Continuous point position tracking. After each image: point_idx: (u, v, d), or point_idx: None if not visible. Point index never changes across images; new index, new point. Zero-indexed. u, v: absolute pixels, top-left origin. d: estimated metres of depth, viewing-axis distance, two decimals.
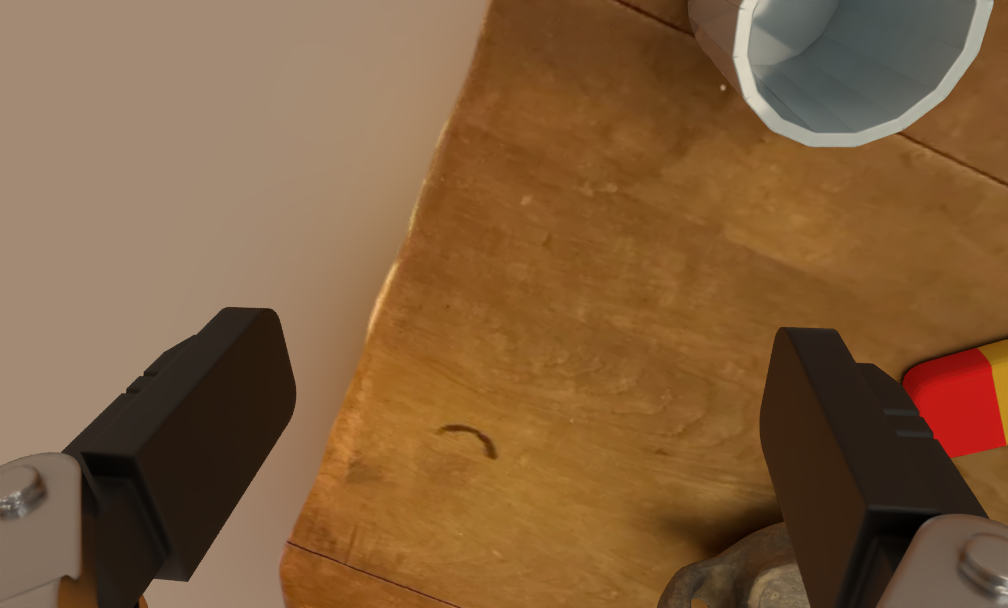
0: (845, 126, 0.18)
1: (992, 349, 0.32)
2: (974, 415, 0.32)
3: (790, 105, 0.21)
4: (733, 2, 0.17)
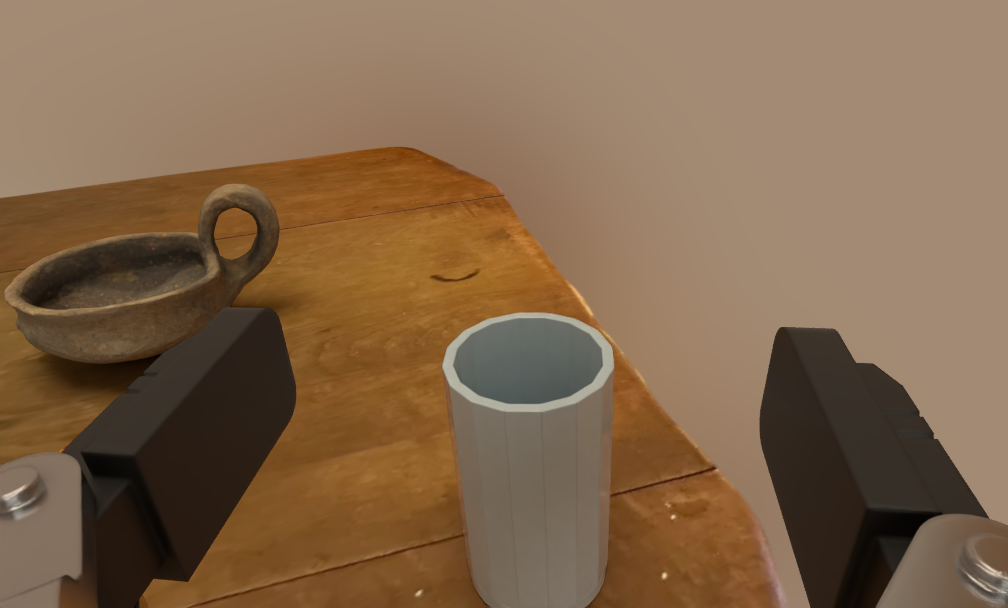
0: (475, 346, 0.25)
1: None
2: None
3: (496, 390, 0.27)
4: None
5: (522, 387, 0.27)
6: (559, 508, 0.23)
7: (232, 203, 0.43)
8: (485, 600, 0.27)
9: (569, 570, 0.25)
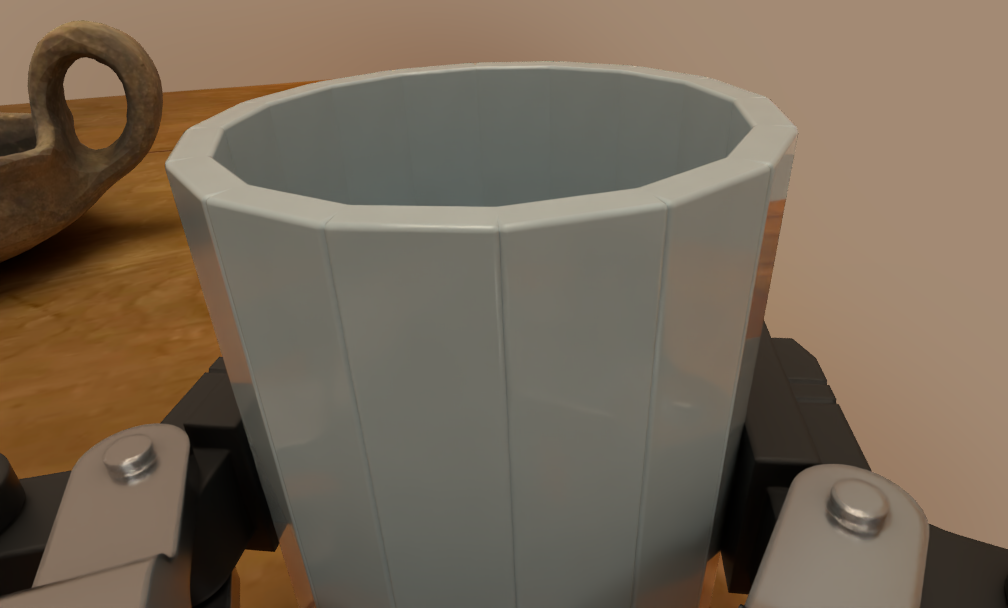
0: (345, 133, 0.09)
1: None
2: None
3: None
4: None
5: None
6: None
7: (77, 45, 0.28)
8: None
9: None
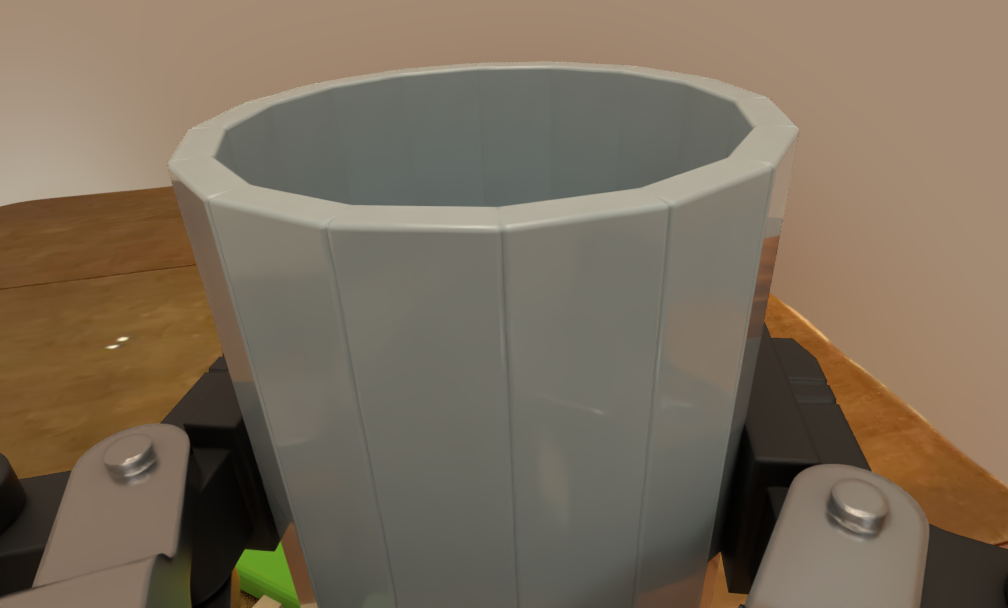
0: (346, 133, 0.09)
1: None
2: None
3: None
4: None
5: None
6: None
7: None
8: None
9: None
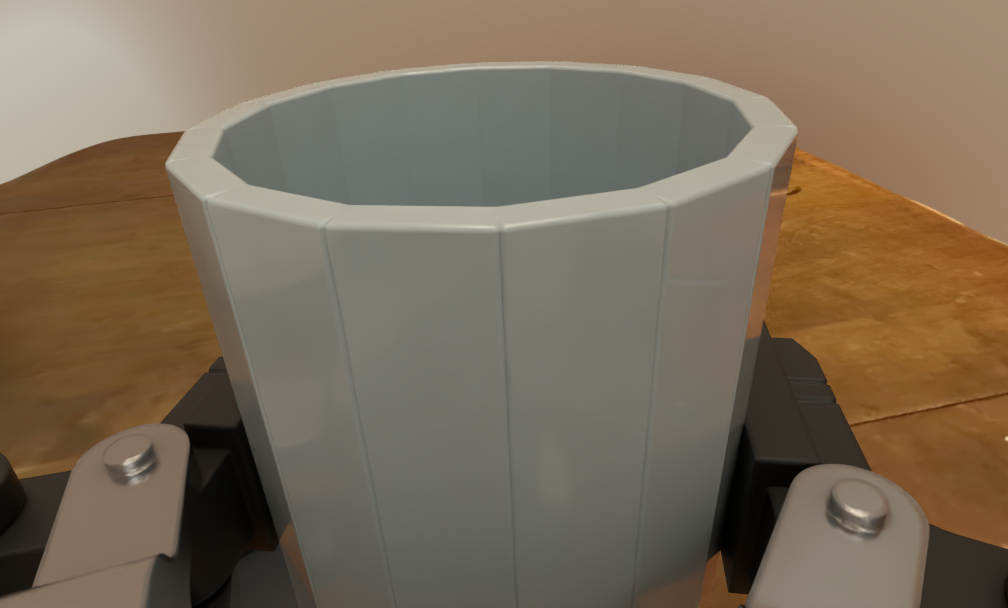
0: (345, 133, 0.09)
1: None
2: None
3: None
4: None
5: None
6: None
7: None
8: None
9: None
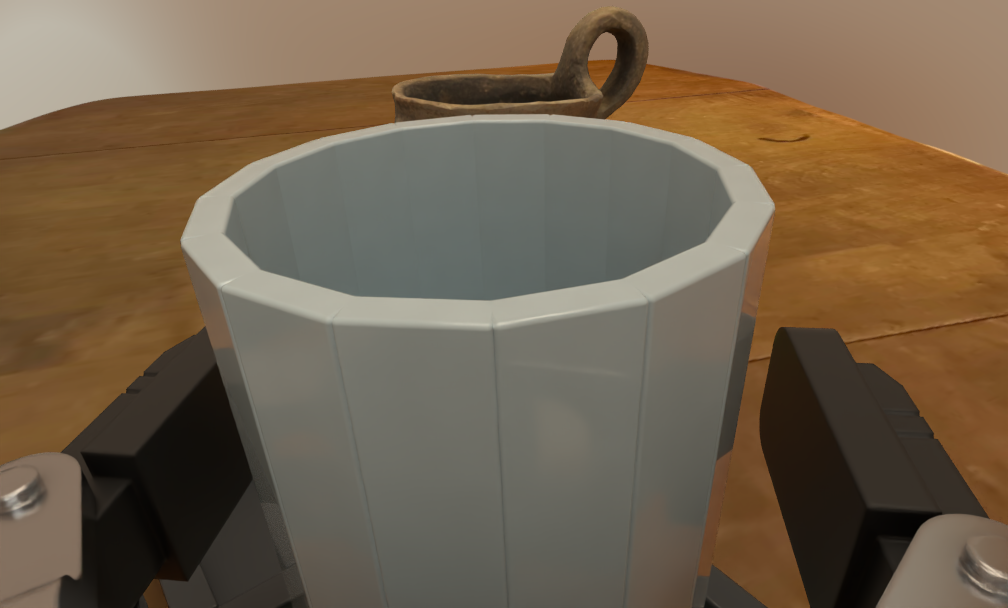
0: (348, 186, 0.09)
1: None
2: None
3: None
4: None
5: None
6: None
7: (617, 22, 0.41)
8: None
9: None
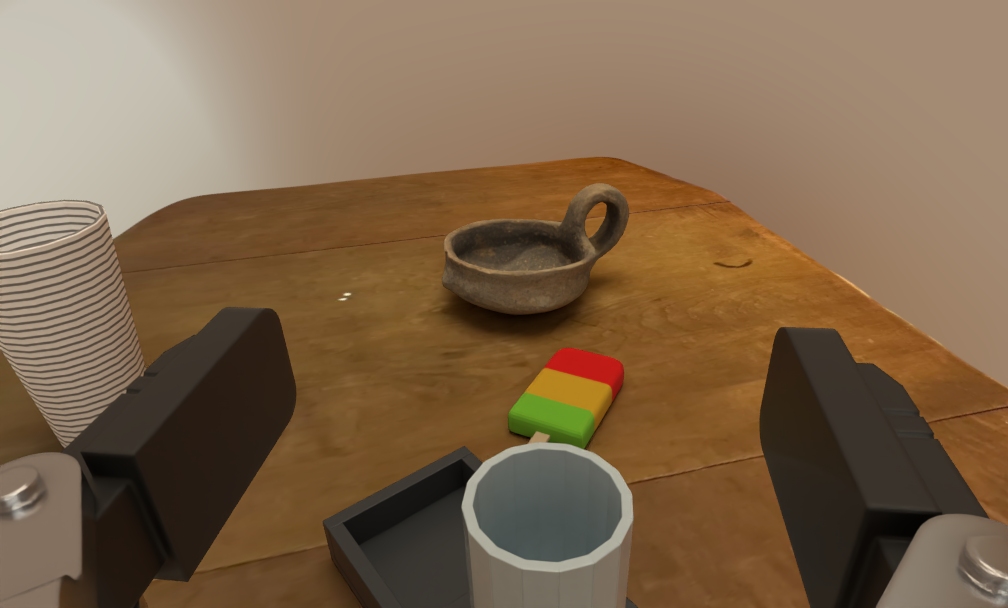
0: (494, 477, 0.25)
1: (609, 403, 0.46)
2: (582, 367, 0.47)
3: (513, 513, 0.27)
4: None
5: (539, 511, 0.27)
6: None
7: (606, 198, 0.57)
8: None
9: None
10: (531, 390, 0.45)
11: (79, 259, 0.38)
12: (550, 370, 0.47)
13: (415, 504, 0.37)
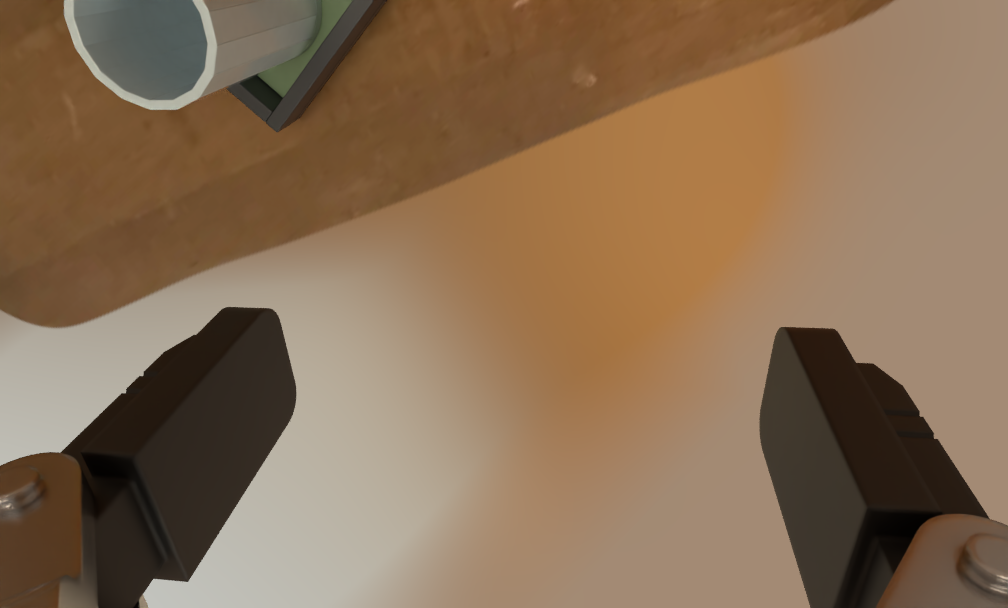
0: None
1: None
2: None
3: None
4: None
5: None
6: (240, 81, 0.30)
7: None
8: None
9: (279, 64, 0.33)
10: None
11: None
12: None
13: None
